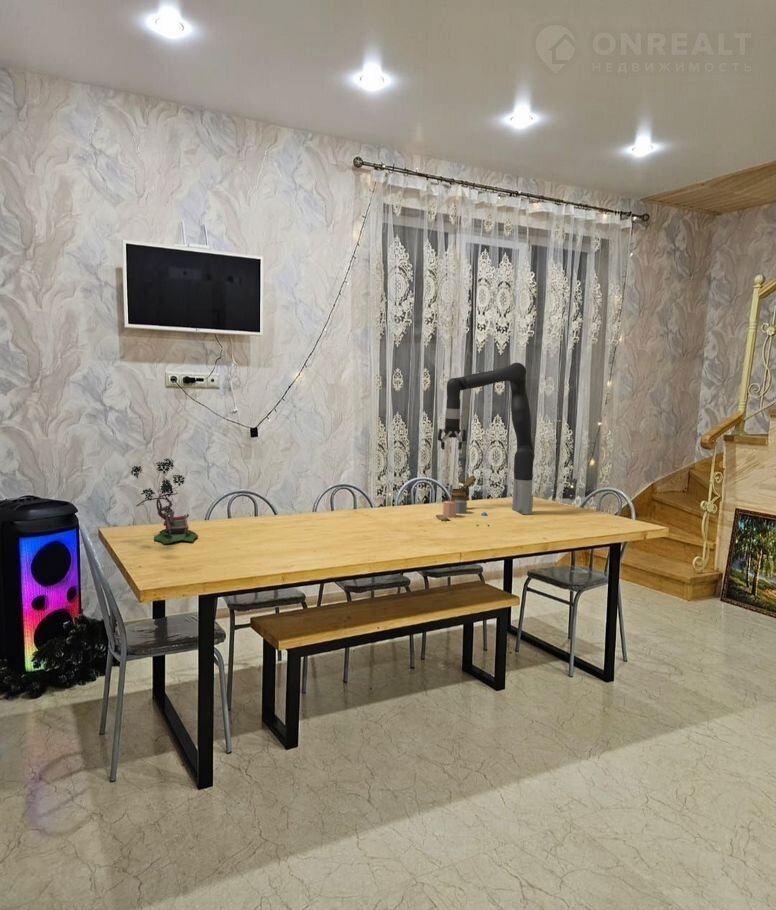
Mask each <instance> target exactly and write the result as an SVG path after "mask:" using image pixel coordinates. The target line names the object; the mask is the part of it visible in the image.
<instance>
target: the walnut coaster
mask: <svg viewBox="0 0 776 910" xmlns="http://www.w3.org/2000/svg"><path fill="white" fill-rule="evenodd" d="M435 517H437V518H436V519H438V520H439V521H440V520H441V521H452V520H451V519H450V518H448V517H447V518H445V517H443V514H435ZM441 521H440V522H441Z"/></svg>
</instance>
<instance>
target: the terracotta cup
mask: <svg viewBox="0 0 776 910" xmlns="http://www.w3.org/2000/svg"><path fill="white" fill-rule="evenodd" d="M442 508H443V509H442V515H443V517H445V518H448V519H451V518H456V517H457V513H456V510H457V502H455V501H451V500H445V501H443V507H442Z"/></svg>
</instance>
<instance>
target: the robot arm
mask: <svg viewBox="0 0 776 910" xmlns="http://www.w3.org/2000/svg"><path fill="white" fill-rule="evenodd" d="M526 369H527V368H526V366H525V365H524V364H522V363H521V362H514V363H511V364H510V365H507V366H504V367H502V368H497V369H494V370H488V371H481V372H477V373H471V374H467V375H465V376H460V377H459V376H458V377H452V378H450V379H448V381H447V382H446V404H445V405H446V409H445V417H444V428H438V432H437V441H439V442H440V449H442V451H443V450H445V448H446V447H445V446H446V445H445V444H446V443H445V442H446V441H447V439H448V438H450V439H451V438H453V439H457V441H458V444H457V446H458V447H457V449H458V450H459V451H461V449H462V448H463V443H464V442H467V430H466V429H464V428H463V429H461V428H460V427H461V391H466V390H468V389H477V388H481V387H485V386H489V385H492V384H496V383H501V382H509V386H510V395H511V396H510V412H511V422H512V425H513V426H512V427H513V431H514V433H515V438H516V452H515V454H514V457H513V458H514V459H513V491H512V503H511V504H512V507H511V511H514V512H516V513H519V514H521V515H523V514H526V515H532V514H533V507H534V494H533V481H534V480H533V479H534V472H533V471H534V469H533V467H534V460H535V458H536V457H535V455H536V454H535V451H534V446H533V442H532V441H533V440H532V421H531V420H532V417H531V408H530V404H529V397H528V394H527V387H526V386H527V384H526V378H527V370H526ZM443 433H444V435H443ZM460 433H461V436H460Z"/></svg>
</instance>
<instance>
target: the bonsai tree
mask: <svg viewBox="0 0 776 910" xmlns="http://www.w3.org/2000/svg"><path fill="white" fill-rule="evenodd" d="M163 461H164V462H163ZM163 461H161V462H158V461H157V463H155V465H157V468H156V471H157V472H162V474H163V476H162V478H163V479H162V481H161V484H160V481H159V480H158V479H157V478H155V477H152V476H150V477H152V478H153V479H155V480H157V481H158V484H159V485H160V486H159V487H158V491H157V492H158V496H157V497H153V495H157V494H156V492H155V491H153V489H152V487H149V488H145V489H143V490H142V492H141V493H140V495H145V498H144V500H142V501H141V502H139V503H138V504H136V505H135V507H138V506H139V507H140V506H144V503H145V502H147V501H149V502H151V501H152V500H153V501H154V500H156V503H155V505H156V510H157V514H158V516H159V517H160V518H161V519H162V520H164V522H163V524H162V525H163V527H165V528H164V529H161V530H160V531H159V533H158V534H157V535H154V536H153V539H154V541H156V542H160V543H161V544H163V545H164V546H165V545H169V544H171V543H176V542H177V543H178V542H180V541H181V542H182V541H184V542H188V543H193V542H194V541H195V539H196V538H198V537H199V535H198V534H197V533H196V532H195V531H193V530H191V529H189V524H188V521H187V518H188V517H189V516H190V514H189V513H186V514H184V515H180V516H174V515H175V511H174V510H173V509H171V508H172V507H173V503H172V502H173V501H174V498H173V496H174V495H175V496H176V495H178V491H177V490H176V488H178V487H180V486H181V485H184V484H185V476H183V475H180V474H177V475H176V474H173V475H172V477H173V480H172V482H171V481H170V480H169V479H167V473H168V472H169V471H170V469H171V470H173V469H174V467H175V465H174V460H173V459H172V458H171V459H170V458H169V457H168V458H163ZM131 469H132V470H130V475H133V477H135V478H136V479H139V477H138V476H139V475H140V474H145V472H142V471H143V468H142V466H141V465H140V466H137V465H136V466H135V465H133V467H131ZM145 475H148V474H145ZM165 477H166V478H165ZM171 483H173V484H174V485H175V486H177V487H174V486H173V485H172V484H171ZM175 491H176V493H174V492H175ZM170 497H171V499H172V500H170V499H169V498H170ZM161 500H165V501H166V503H168V505H165V506H164V507H163V506H162V502H161Z"/></svg>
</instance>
